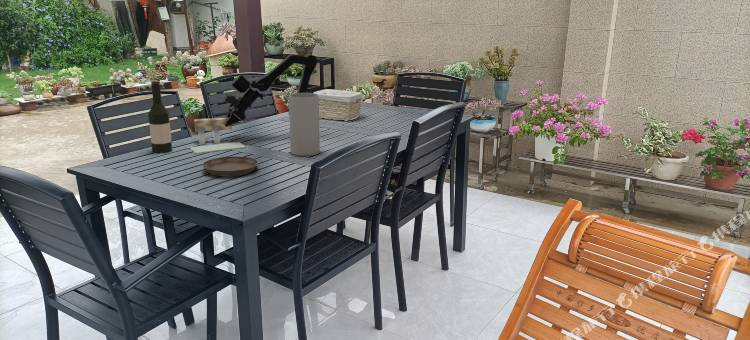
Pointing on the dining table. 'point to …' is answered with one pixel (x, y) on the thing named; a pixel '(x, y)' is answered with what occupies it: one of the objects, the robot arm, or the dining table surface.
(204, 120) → the beech rail
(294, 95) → the cylinder vase
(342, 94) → the storage basket
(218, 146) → the mat
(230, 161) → the plant saucer
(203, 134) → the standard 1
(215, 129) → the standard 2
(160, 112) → the wine bottle
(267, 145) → the dining table surface
